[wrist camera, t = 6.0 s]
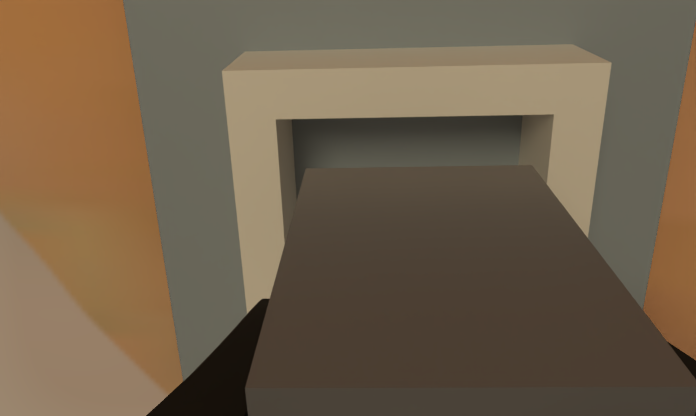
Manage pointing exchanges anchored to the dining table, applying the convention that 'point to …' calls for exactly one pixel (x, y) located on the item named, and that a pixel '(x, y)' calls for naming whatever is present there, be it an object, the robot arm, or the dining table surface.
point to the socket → (394, 120)
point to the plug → (452, 305)
